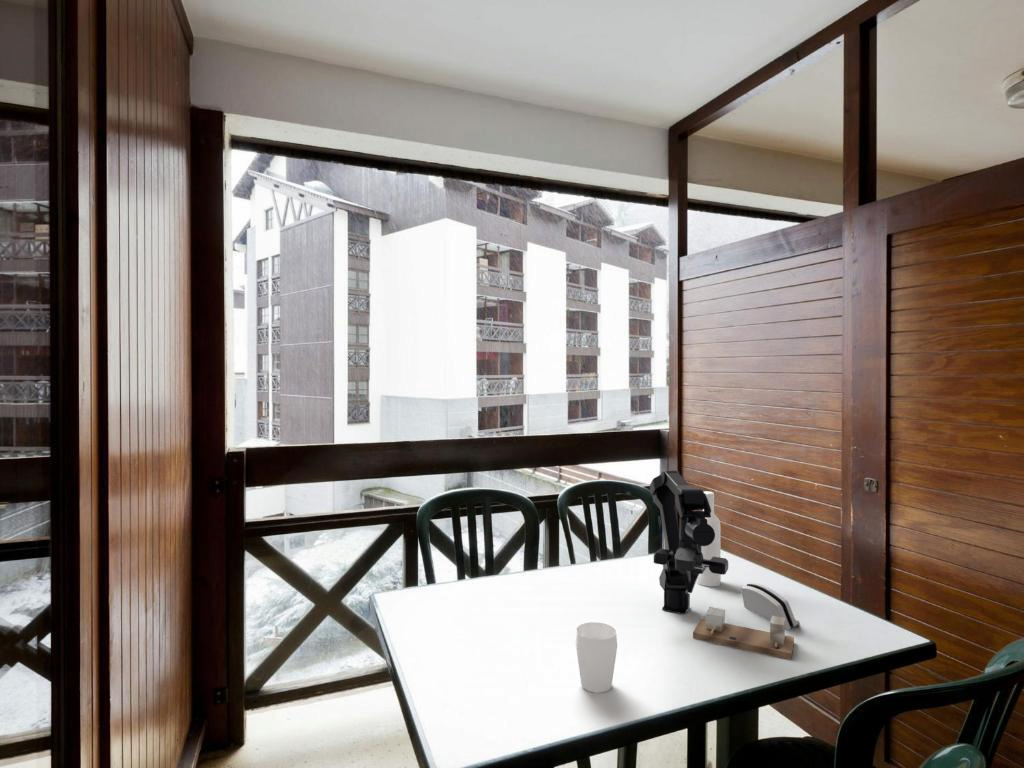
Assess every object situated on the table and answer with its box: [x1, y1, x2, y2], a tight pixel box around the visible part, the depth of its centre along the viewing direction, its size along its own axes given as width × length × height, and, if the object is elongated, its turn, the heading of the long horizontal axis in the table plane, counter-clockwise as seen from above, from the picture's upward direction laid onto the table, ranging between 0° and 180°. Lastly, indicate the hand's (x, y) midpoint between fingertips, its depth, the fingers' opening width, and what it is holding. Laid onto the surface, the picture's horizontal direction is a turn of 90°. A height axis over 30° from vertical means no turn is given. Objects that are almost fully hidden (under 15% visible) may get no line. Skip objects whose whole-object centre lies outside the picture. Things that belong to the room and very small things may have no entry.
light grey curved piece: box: [740, 582, 802, 631], centre depth 161 cm, size 17×5×10 cm, turn 18°
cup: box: [575, 621, 618, 694], centre depth 125 cm, size 9×9×12 cm
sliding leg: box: [705, 606, 726, 634], centre depth 149 cm, size 4×8×4 cm, turn 150°
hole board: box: [692, 616, 795, 660], centre depth 146 cm, size 23×10×6 cm, turn 60°
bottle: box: [696, 490, 722, 588], centre depth 188 cm, size 8×8×30 cm
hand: (690, 592), depth 154 cm, fingers closed
